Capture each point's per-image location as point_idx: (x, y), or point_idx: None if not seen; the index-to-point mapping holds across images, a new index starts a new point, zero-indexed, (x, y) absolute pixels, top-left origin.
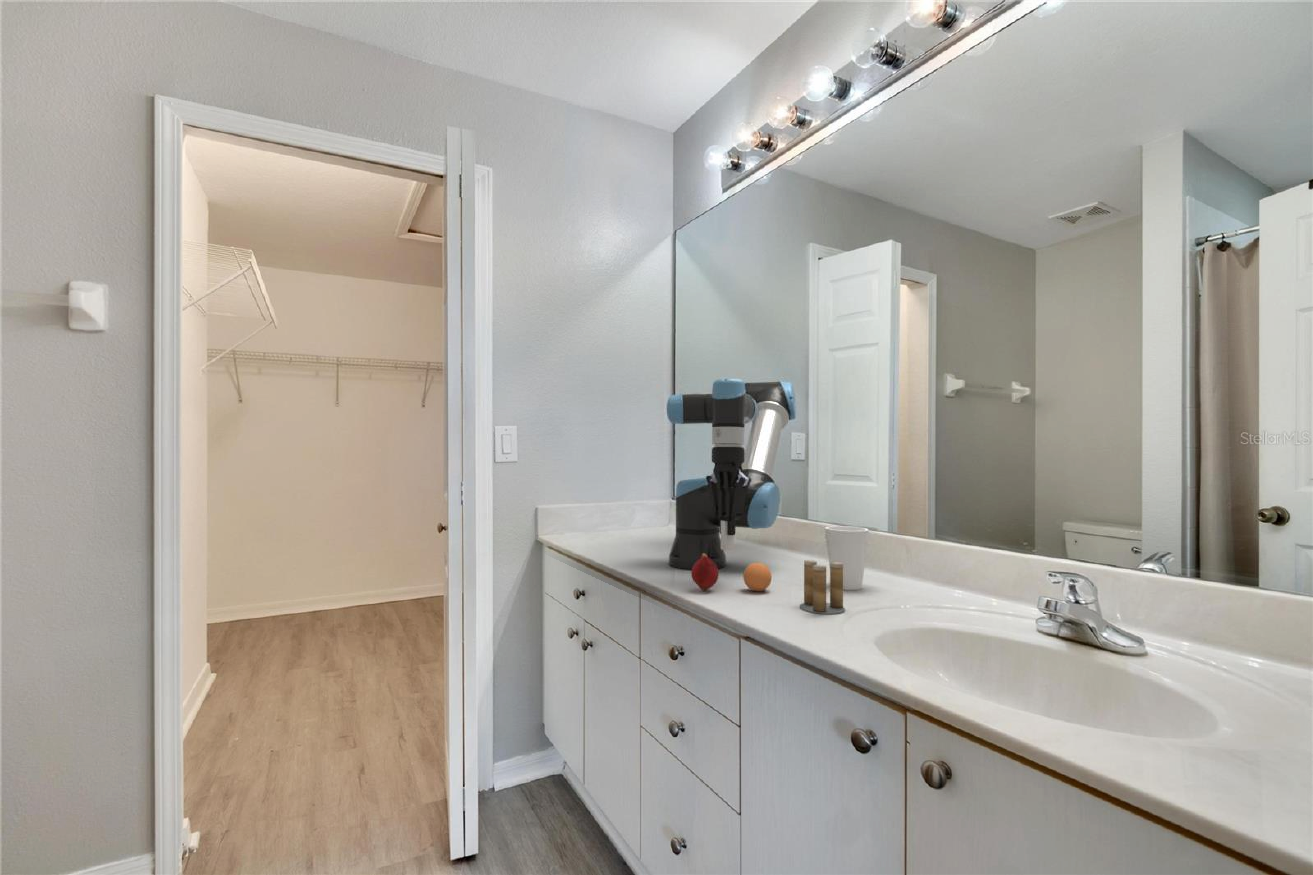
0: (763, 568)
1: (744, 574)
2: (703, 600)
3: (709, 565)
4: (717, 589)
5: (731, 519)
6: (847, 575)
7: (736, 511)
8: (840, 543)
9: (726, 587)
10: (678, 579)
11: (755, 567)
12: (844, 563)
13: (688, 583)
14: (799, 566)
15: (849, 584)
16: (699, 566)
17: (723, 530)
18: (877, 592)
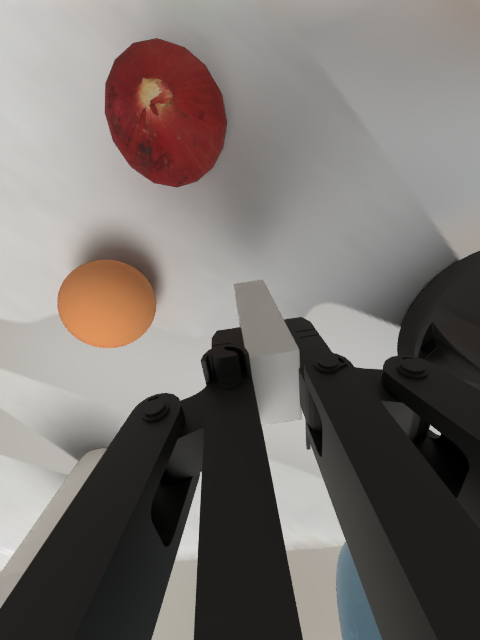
0: (61, 318)
1: (112, 266)
2: (39, 28)
3: (109, 103)
4: (181, 192)
5: (202, 395)
6: (63, 483)
7: (102, 468)
8: (11, 568)
9: (195, 236)
10: (365, 152)
11: (68, 296)
12: (48, 508)
13: (297, 149)
14: (306, 490)
15: (74, 467)
16: (129, 50)
17: (256, 321)
18: (49, 482)
